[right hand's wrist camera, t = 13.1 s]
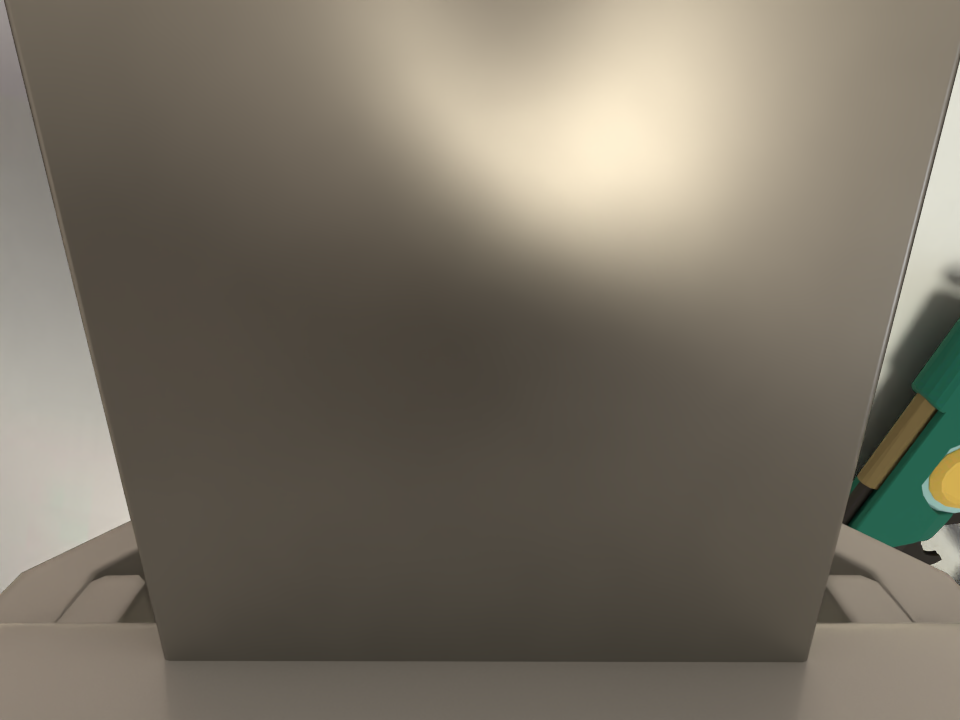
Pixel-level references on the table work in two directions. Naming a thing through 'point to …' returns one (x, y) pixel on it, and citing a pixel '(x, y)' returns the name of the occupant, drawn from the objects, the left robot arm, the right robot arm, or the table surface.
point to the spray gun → (915, 463)
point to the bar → (487, 308)
